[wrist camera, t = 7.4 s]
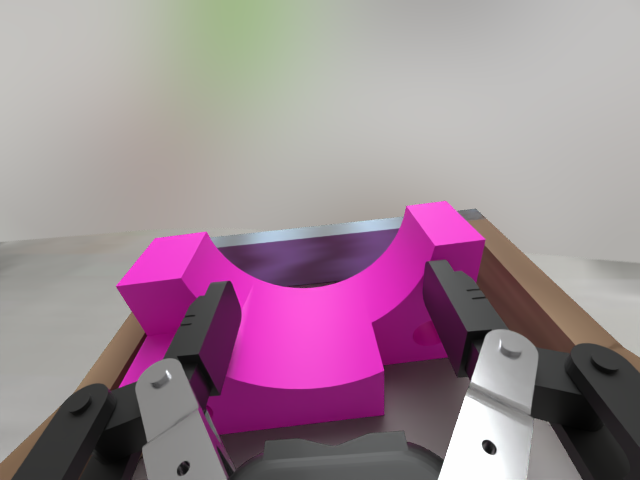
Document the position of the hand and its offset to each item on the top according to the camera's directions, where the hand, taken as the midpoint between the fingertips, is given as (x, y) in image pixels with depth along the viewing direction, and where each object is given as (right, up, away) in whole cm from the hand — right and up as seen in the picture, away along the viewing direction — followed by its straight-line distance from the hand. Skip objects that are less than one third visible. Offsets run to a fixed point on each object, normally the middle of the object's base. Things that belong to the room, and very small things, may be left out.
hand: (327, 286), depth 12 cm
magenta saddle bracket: (0, -5, +4) cm, 7 cm away
